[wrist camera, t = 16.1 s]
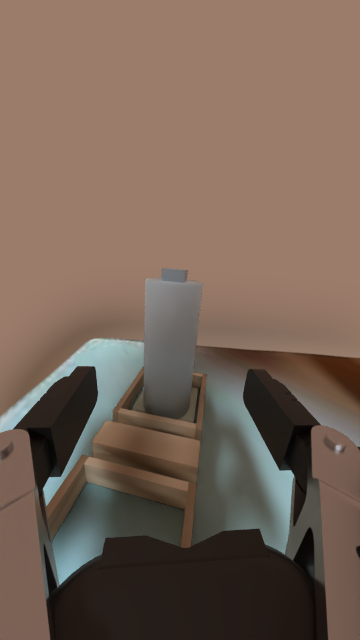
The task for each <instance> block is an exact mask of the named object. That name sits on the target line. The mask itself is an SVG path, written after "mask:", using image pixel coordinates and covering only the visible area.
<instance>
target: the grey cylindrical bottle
mask: <svg viewBox="0 0 360 640" xmlns="http://www.w3.org/2000/svg"><path fill="white" fill-rule="evenodd" d="M187 272H188V270H180V269H167V268H163V269H162V278H148V279H146V280H145V331H144V332H145V333H144V334H145V335H144V391H143V406H144V410H145V411H146V413H147V414H152V415H156V416H161V417H166V418H171V419H176V420H177V419H180V418H181V417H183V416H184V415H185V414H186V413H187V412H188V410H189V406H190V397H191V388H192V379H193V370H194V361H195V352H196V342H197V332H198V324H199V315H200V305H201V297H202V287H203V283H201V282H198V281H192V280H187Z"/></svg>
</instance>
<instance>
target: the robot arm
mask: <svg viewBox="0 0 360 640" xmlns="http://www.w3.org/2000/svg"><path fill="white" fill-rule="evenodd" d="M97 396H98V390H97V379H96V370H95V367H93V366H78V367H76V368H75V370H74V371H73V372H72V373H71V375H70V376H69V377H63V378H62V379H60V380H58V381H57V382H55V383H54V384H53V385H52V386H51V387H50V388H49V389H48V391H47V392H46V393H45V394H44V395H43V396H42V397H41V398H40V401H38V402H37V403H36V404H35V405H34V406H33V407H32V408H31V410H30V411H29V412H28V413H27V414H26V415H25V416H24V417H23V419H22V420H21V421H20V422H19V423H18V424H17V425H16V426H15V427H14V429H13V430H8V431H5V432H2V433H0V640H360V447H357V446H356V445H355V444H354V443H353V442H352V441H351V440H350V439H349V438H348V437H347V436H345V435H344V434H342V433H341V432H339V431H337V430H335V429H333V428H330V427H327V426H322V425H320V423H319V422H318V421H317V420H316V419H315V418H314V417H313V416H312V415H311V414H310V413H309V412H308V410H307V409H306V408H305V407H304V406H303V405H302V404H301V403H300V402H299V401H297V399H296V397H295V396H294V395H292V394H291V392H290V391H289V390H288V389H287V388H286V387H285V385H283V384H282V383H280V382H279V381H277V380H276V379H273V378H272V377H271V376H270V375H269V374H268V373H267V371H266V370H264V369H249V370H248V372H247V377H246V382H245V387H244V392H243V399H244V404H245V406H246V408H247V410H248V412H249V413H250V415H251V417H252V419H253V421H254V423H255V425H256V427H257V429H258V430H259V432H260V434H261V436H262V438H263V440H264V442H265V444H266V445H267V447H268V449H269V451H270V453H271V455H272V457H273V459H274V461H275V462H276V464H277V466H278V468H279V470H291V471H292V472H293V474H294V478H293V482H292V496H291V511H290V526H289V536H288V541H287V546H286V550H285V555H284V554H283V553H281V552H280V551H278V550H276V549H274V548H272V547H270V546H268V545H265V544H264V541H263V538H262V535H261V532H260V529H248V530H231V531H222V532H220V533H218V534H216V535H214V536H212V537H210V538H208V539H206V540H204V541H202V542H200V543H198V544H195V545H193V546H191V547H189V548H182V547H179V546H176V545H173V544H169V543H166V542H163V541H160V540H157V539H154V538H151V537H148V536H133V537H116V538H106V539H105V543H104V548H103V553H102V555H100V556H97V557H95V558H94V559H92V560H90V561H89V562H87V563H85V564H84V565H83V566H81V567H80V568H79V569H77V570H76V571H75V572H74V573H72V574H71V575H70V576H69V577H68V578H67V579H66V580H65V581H64V582H63V583H62V584H61V585H59V580H58V574H57V569H56V564H55V559H54V554H53V549H52V542H51V536H50V530H49V523H48V517H47V510H46V504H45V497H44V491H43V487H44V486H45V484H46V482H47V480H48V478H49V477H61V475H62V473H63V471H64V469H65V467H66V465H67V463H68V461H69V459H70V457H71V455H72V452H73V450H74V448H75V446H76V444H77V442H78V440H79V438H80V436H81V434H82V432H83V430H84V428H85V426H86V423H87V421H88V419H89V417H90V415H91V413H92V411H93V409H94V407H95V405H96V402H97Z"/></svg>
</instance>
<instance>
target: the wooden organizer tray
mask: <svg viewBox="0 0 360 640" xmlns="http://www.w3.org/2000/svg"><path fill="white" fill-rule="evenodd" d="M206 377H207V374H200V373H194V372H193V379H192V388H191V397H190V406H189V410H188V412H187V413H186V414H185V415H184V416H183V417H181V418H180V419H177V420H176V419H171V418H166V417H161V416H156V415H152V414H147V413H146V411H145V410H144V406H143V391H144V389H143V390H142V392H141V394H140V396H139V397H138V399H137V401H136V403H135V404H134V406H133V408H132V410H129V409H130V408H131V406H132V404H133V403H134V401H135V399H136V397H137V396H138V394H139V392H140V391H141V389H142V387H143V386H144V367H143V368H142V370H141V371H140V373H139V374H138V375H137V377H136V378H135V380H134V381H133V383H132V384H131V385H130V387H129V388H128V390H127V391H126V393H125V394H124V396H123V397H122V398H121V400H120V401H119V403H118V404H117V406H116V407H115V409H114V410H113V421H108V420H106V422H105V423H104V424H103V426H102V427H101V429H100V430H99V432H98V433H97V435H96V436H95V437H94V439H93V440H92V449H93V457H89V456H86V455H82V456H81V458H80V459H79V460H78V462H77V463H76V465H75V466H74V468H73V469H72V471H71V472H70V473H69V475H68V476H67V478H66V479H65V481H64V482H63V484H62V485H61V486H60V488H59V489H58V491H57V492H56V494H55V495H54V496H53V498H52V499H51V501H50V502H49V504H48V505H47V507H46V510H47V517H48V523H49V530H50V536H51V542H52V540H53V538H54V537H55V535H56V533H57V532H58V530H59V528H60V526H61V525H62V523H63V521H64V520H65V518H66V516H67V515H68V513H69V511H70V509H71V508H72V506H73V504H74V503H75V501H76V499H77V498H78V496H79V494H80V492H81V491H82V489H83V487H84V486H85V484H86V482H89V483H92V484H96V485H100V486H103V487H107V488H110V489H114V490H117V491H121V492H124V493H128V494H131V495H135V496H138V497H142V498H146V499H149V500H153V501H156V502H160V503H163V504H167V505H170V506H174V507H177V508H181V509H184V510H185V515H184V523H183V531H182V538H181V546H180V547H182V548H189V547H191V539H192V529H193V518H194V507H195V496H196V485H197V484H196V480H197V473H198V464H199V453H200V442H201V441H200V439H201V431H202V421H203V410H204V399H205V388H206ZM193 387H195V388H193ZM198 388H201V391H200V399H199V406H198V414H197V422H196V424H195V423H194V416H195V409H196V402H197V395H198Z"/></svg>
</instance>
